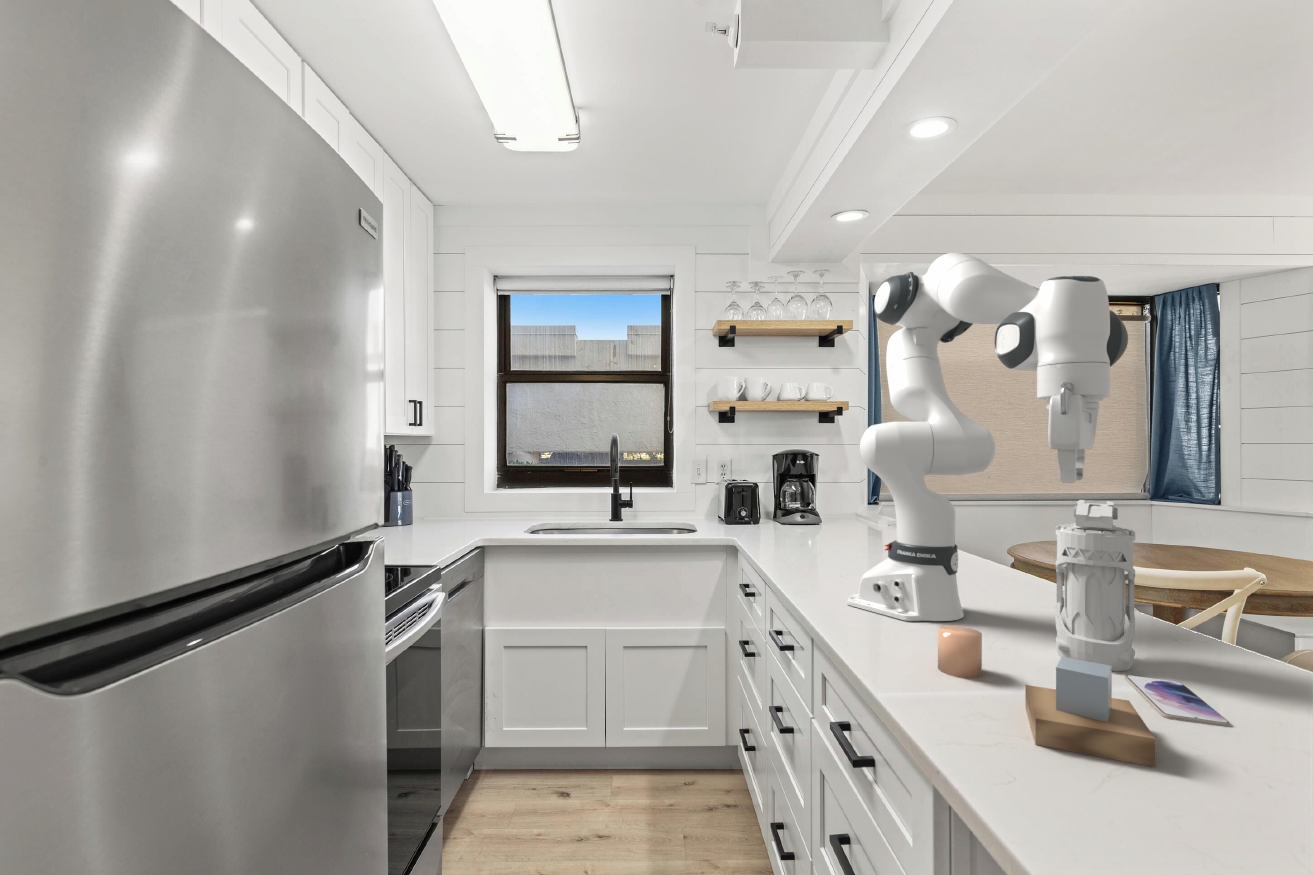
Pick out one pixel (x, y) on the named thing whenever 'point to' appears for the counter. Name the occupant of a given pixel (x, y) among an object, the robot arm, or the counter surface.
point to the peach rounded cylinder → (960, 651)
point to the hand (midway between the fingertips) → (1072, 481)
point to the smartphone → (1175, 701)
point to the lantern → (1095, 587)
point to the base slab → (1090, 729)
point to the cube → (1084, 688)
